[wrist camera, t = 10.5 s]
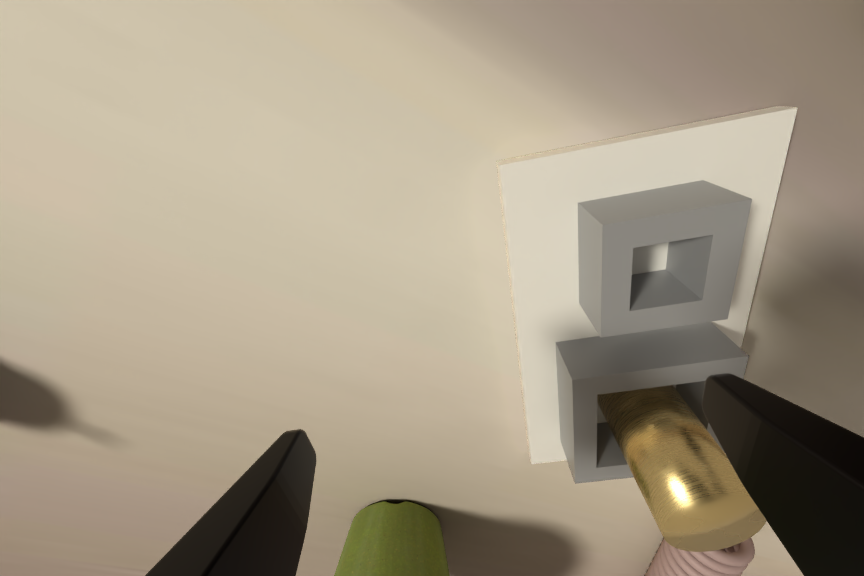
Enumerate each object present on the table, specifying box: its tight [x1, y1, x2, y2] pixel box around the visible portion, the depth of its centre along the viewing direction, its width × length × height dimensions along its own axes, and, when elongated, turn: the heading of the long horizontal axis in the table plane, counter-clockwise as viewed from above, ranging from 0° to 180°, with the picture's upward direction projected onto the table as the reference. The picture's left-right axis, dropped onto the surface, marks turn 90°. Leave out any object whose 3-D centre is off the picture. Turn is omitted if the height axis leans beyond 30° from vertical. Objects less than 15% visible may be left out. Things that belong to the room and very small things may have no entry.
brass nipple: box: [597, 385, 766, 552], centre depth 19 cm, size 4×4×8 cm
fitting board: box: [496, 106, 798, 484], centre depth 20 cm, size 12×20×4 cm, turn 11°
